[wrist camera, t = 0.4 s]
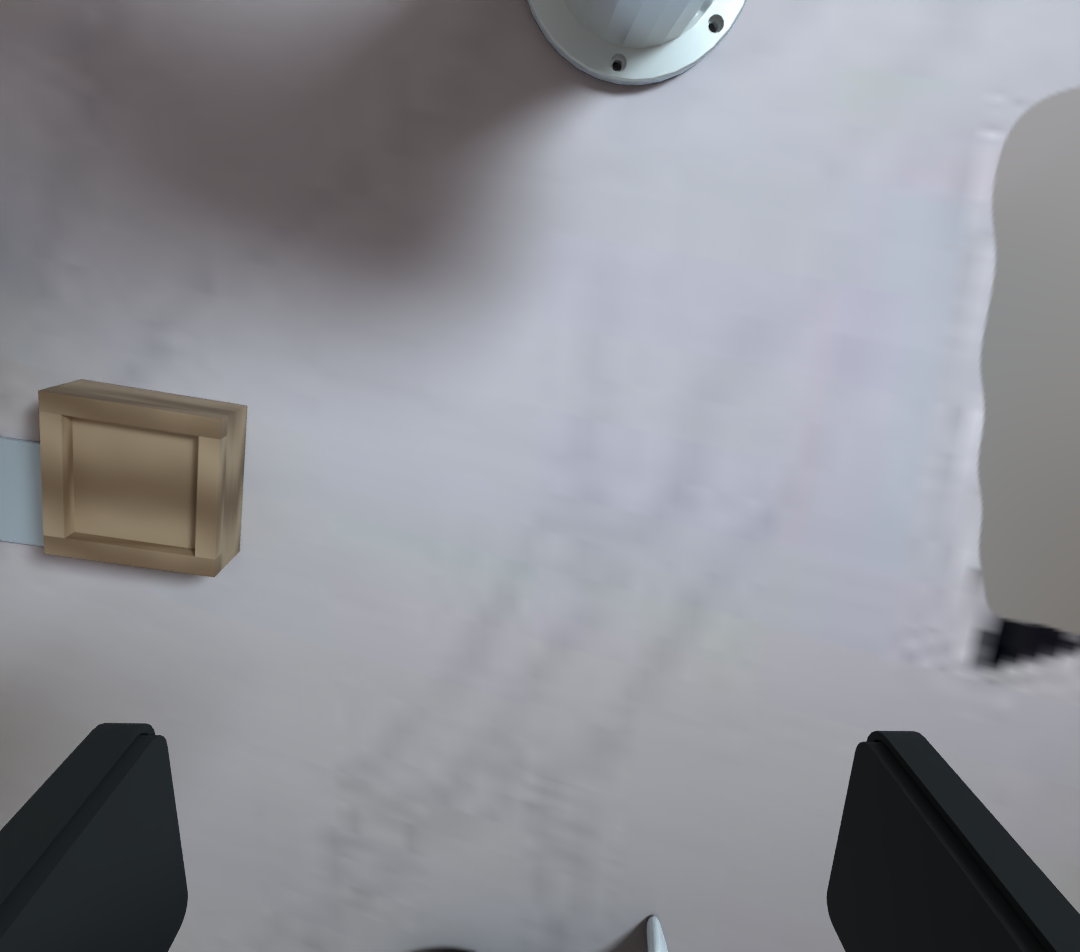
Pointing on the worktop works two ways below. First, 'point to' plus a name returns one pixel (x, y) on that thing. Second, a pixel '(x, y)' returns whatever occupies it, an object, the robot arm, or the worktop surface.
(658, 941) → the spoon rest
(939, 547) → the worktop surface
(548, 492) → the worktop surface
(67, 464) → the wooden crate
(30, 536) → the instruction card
